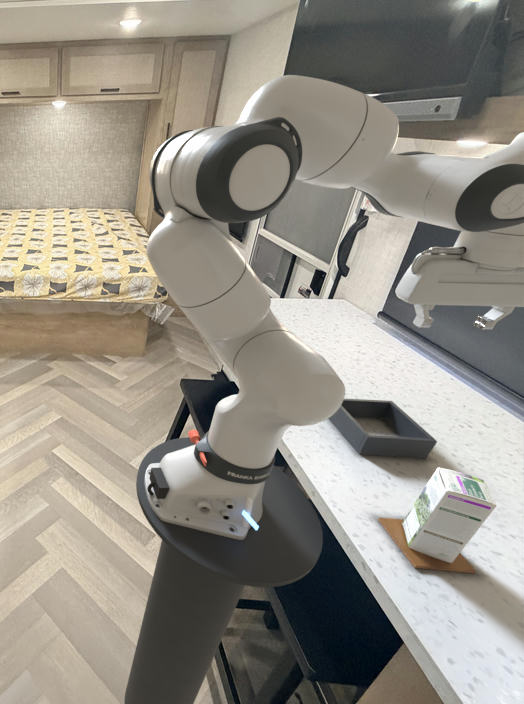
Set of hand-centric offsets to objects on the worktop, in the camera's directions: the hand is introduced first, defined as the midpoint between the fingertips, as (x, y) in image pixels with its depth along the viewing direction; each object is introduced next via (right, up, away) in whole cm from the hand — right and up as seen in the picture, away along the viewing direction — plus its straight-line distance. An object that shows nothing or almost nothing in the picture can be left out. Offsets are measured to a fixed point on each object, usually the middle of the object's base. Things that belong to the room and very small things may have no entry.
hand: (451, 327), depth 67 cm
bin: (+9, -25, +25) cm, 37 cm away
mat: (-3, -38, +2) cm, 38 cm away
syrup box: (-3, -38, +1) cm, 38 cm away
